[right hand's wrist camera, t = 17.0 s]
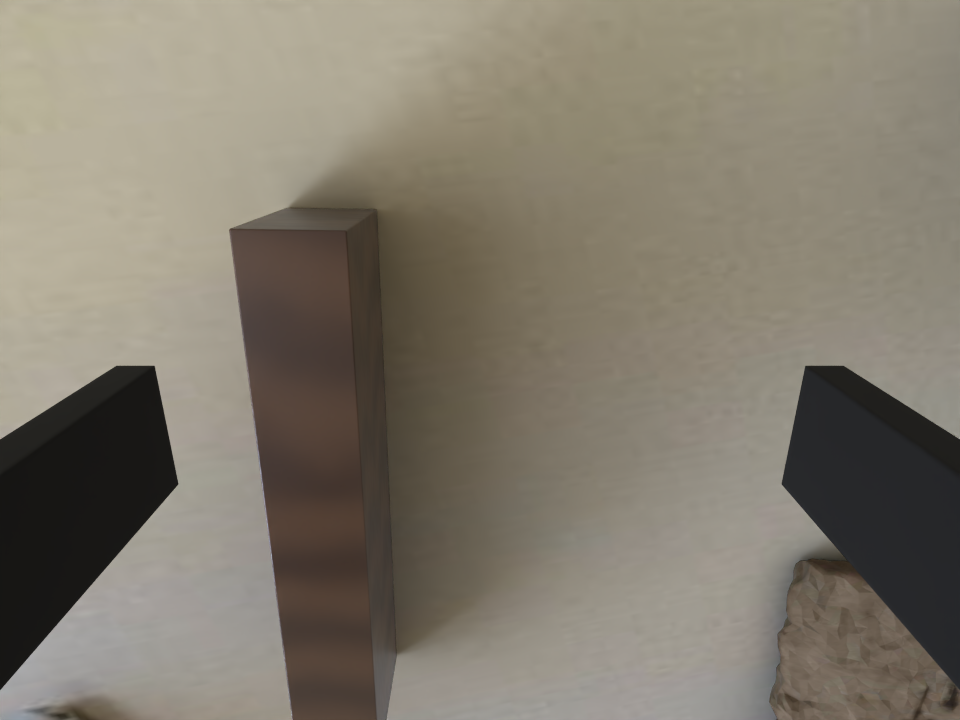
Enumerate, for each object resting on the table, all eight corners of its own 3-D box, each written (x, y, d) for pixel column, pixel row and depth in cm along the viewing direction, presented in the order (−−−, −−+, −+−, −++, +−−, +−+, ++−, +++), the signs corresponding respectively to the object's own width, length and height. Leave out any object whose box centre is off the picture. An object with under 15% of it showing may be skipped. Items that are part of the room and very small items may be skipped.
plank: (285, 207, 33) (228, 228, 26) (376, 209, 33) (346, 230, 26) (328, 656, 44) (297, 762, 37) (396, 656, 44) (379, 763, 37)
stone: (944, 817, 45) (992, 900, 39) (734, 770, 48) (750, 841, 43) (1006, 559, 41) (1069, 609, 35) (772, 526, 44) (796, 568, 39)
